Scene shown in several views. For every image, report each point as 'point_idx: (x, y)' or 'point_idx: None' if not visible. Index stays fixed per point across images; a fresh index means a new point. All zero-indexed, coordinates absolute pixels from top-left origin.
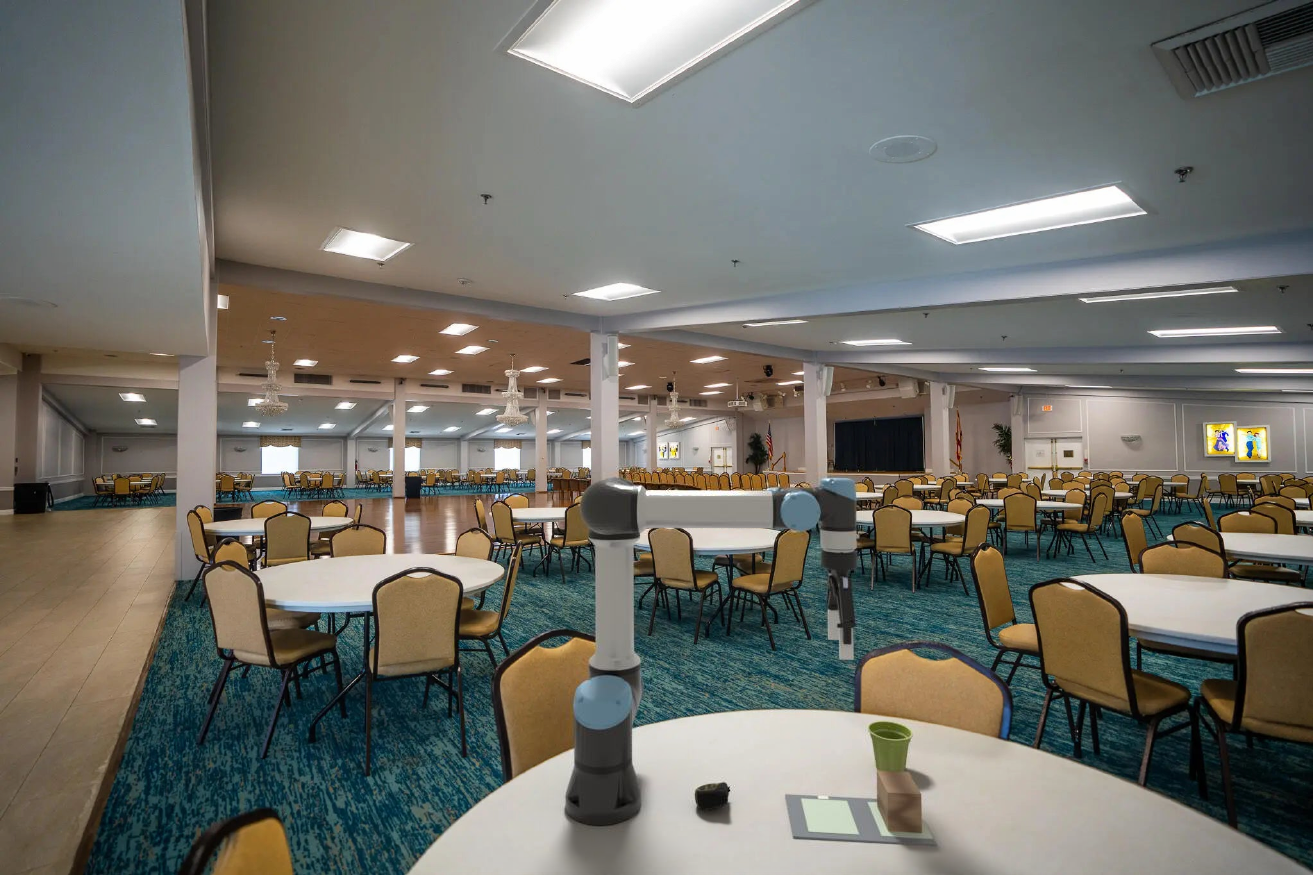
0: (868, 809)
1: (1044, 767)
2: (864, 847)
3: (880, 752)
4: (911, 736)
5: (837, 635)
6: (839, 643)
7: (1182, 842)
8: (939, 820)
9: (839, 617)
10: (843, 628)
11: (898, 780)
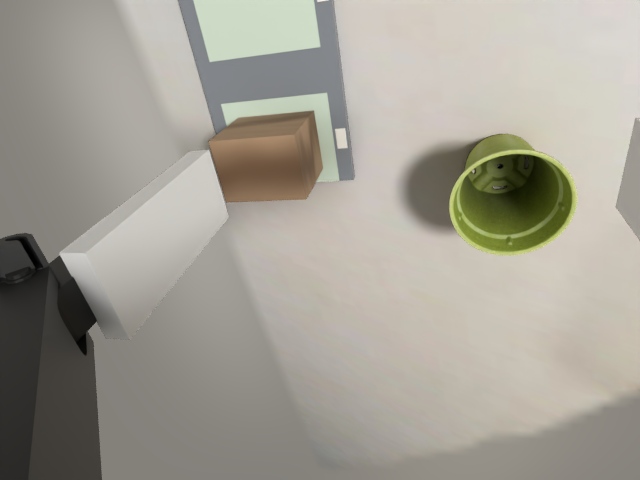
0: (301, 91)
1: (515, 402)
2: (195, 67)
3: (475, 157)
4: (473, 246)
5: (634, 199)
6: (152, 188)
7: (337, 431)
8: (314, 208)
9: (33, 310)
10: (56, 274)
11: (263, 172)
